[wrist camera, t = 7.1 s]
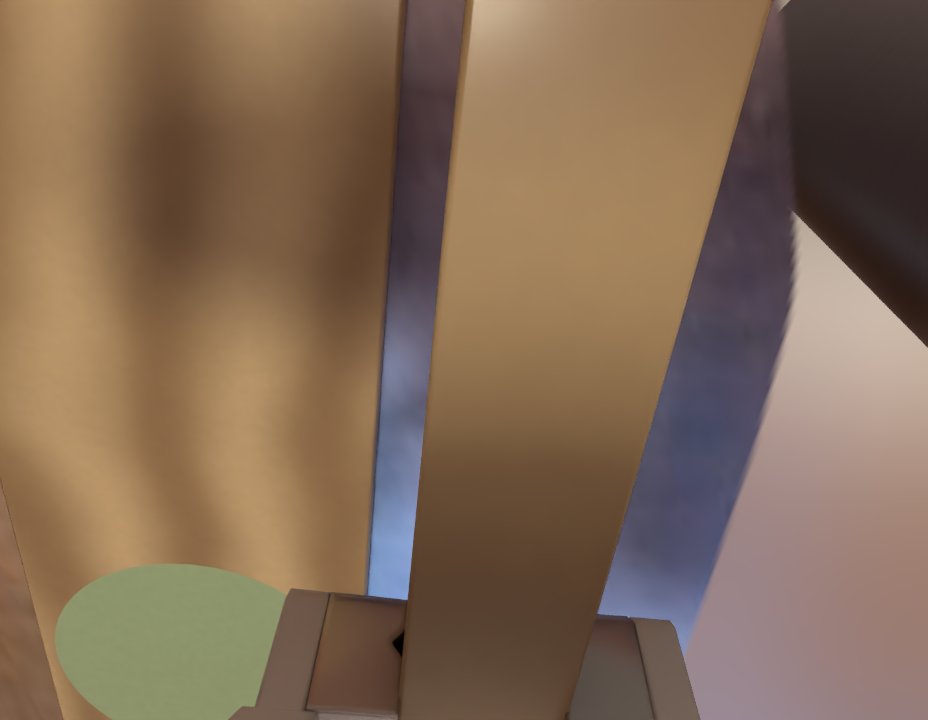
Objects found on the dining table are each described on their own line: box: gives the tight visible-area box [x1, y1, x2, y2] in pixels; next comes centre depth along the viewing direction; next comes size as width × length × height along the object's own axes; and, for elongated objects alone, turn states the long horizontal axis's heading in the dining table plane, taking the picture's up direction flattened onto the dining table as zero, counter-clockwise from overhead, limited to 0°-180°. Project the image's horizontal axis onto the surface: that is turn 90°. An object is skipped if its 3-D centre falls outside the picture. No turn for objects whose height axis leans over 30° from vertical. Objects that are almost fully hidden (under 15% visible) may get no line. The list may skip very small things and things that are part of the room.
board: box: [0, 0, 406, 720], centre depth 23 cm, size 12×42×1 cm, turn 174°
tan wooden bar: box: [398, 0, 773, 720], centre depth 10 cm, size 18×5×3 cm, turn 174°
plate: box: [55, 564, 287, 720], centre depth 30 cm, size 11×11×1 cm
